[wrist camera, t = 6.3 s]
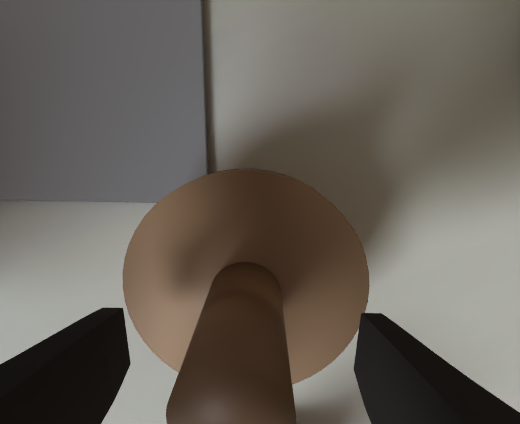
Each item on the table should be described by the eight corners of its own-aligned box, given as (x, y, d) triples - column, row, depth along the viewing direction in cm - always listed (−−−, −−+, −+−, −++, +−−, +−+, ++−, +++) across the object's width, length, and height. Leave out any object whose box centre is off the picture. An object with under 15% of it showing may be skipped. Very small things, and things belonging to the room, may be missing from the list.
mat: (-78, 196, 13) (-89, 198, 12) (-201, -195, 9) (-222, -210, 9) (209, 201, 13) (207, 203, 12) (196, -192, 9) (193, -207, 9)
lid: (154, 380, 12) (69, 566, 6) (110, 177, 9) (-74, 220, 4) (358, 369, 11) (437, 554, 6) (364, 159, 9) (494, 179, 4)
